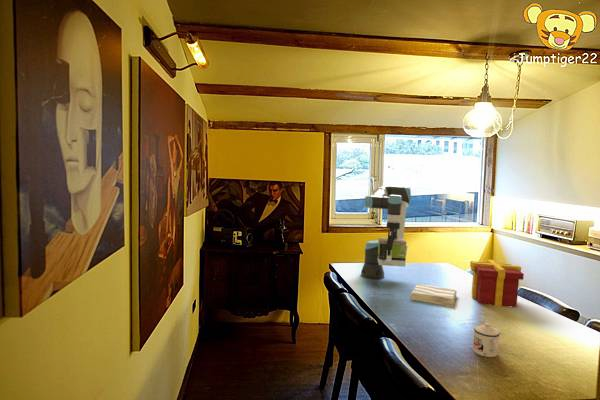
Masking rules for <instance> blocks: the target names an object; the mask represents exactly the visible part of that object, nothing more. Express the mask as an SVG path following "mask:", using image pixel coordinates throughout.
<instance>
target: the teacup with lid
mask: <svg viewBox="0 0 600 400" xmlns="http://www.w3.org/2000/svg"><path fill="white" fill-rule="evenodd" d="M473 330H474V334H473V335H474V336H473V346H472V347H473V348H472V350H473V351H474V353H475V354H477V355H479V356H482V357H485V358H496V357H497V355H498V353H499V339H500V331H499V330H498V329H497V328H495V327H493V326H491V323H489V322H485V323H484V324H481V325H476V326H475V327H474V328H473Z"/></svg>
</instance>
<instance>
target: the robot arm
mask: <svg viewBox="0 0 600 400" xmlns="http://www.w3.org/2000/svg"><path fill="white" fill-rule="evenodd" d="M411 193H412V192H411V187H410V186H407V185H391V184H390V185H389V184H387V185H381V186H378V187H377V188H375V190H373V193H372V195H365V197H364V208H367V209H375V210H376V209H381V210H387V214H386V229H389V231H388V233H387V238H388V239H387V247H386V250H387V258H386V261H391V259H392V245H393V240H394V239H405V238H404V236H405V225H406V214H407V208H408V207H409V206H410V204H411V203H412V194H411ZM378 241H379V239H378V240H377V239H376V240H370V241H367V242H366V243H365V246H364V261H363V265H362V269H361V272H360V275H361V276H362V277H365V278H368V279H373V280H375V279H377V280H378V279H383V278H385V271H384V266H383V265H379V263H378ZM407 252H408V245H406V254H407Z"/></svg>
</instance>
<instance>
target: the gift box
mask: <svg viewBox="0 0 600 400" xmlns="http://www.w3.org/2000/svg"><path fill="white" fill-rule="evenodd" d="M469 266H470V271H471V272H472V284H471V285H472V286H471V298H472V300H476V302H477V301H478V302H477V303H478V304H479V303H481V305H489V304H491V306H495V307H499V306H502V307H508V306H512V307H511V308H517V307H518V306H517V305H518V296H519V293H518V292H519V284H520V281H523V280H524V273H523V272H522V266H520V265H512V264H509V263H506V264H505V263H498V262H496V261H495V260H493V259H487V260H486V262H485V261H483V262H482V261H472V260H470V265H469Z"/></svg>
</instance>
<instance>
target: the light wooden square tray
mask: <svg viewBox="0 0 600 400" xmlns="http://www.w3.org/2000/svg"><path fill="white" fill-rule="evenodd" d="M456 298H457V290H456V289H455V288H454V289H453V288H446V287H441V286H434V285H427V284H422V283H421V284H420V283H417V284H416V285H415V287H414V288H413V290H412V291H411V293H410V300H413V301H418V302H425V303H429V304H434V305H435V304H437V305H441V306H447V307H455V302H456Z"/></svg>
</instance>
